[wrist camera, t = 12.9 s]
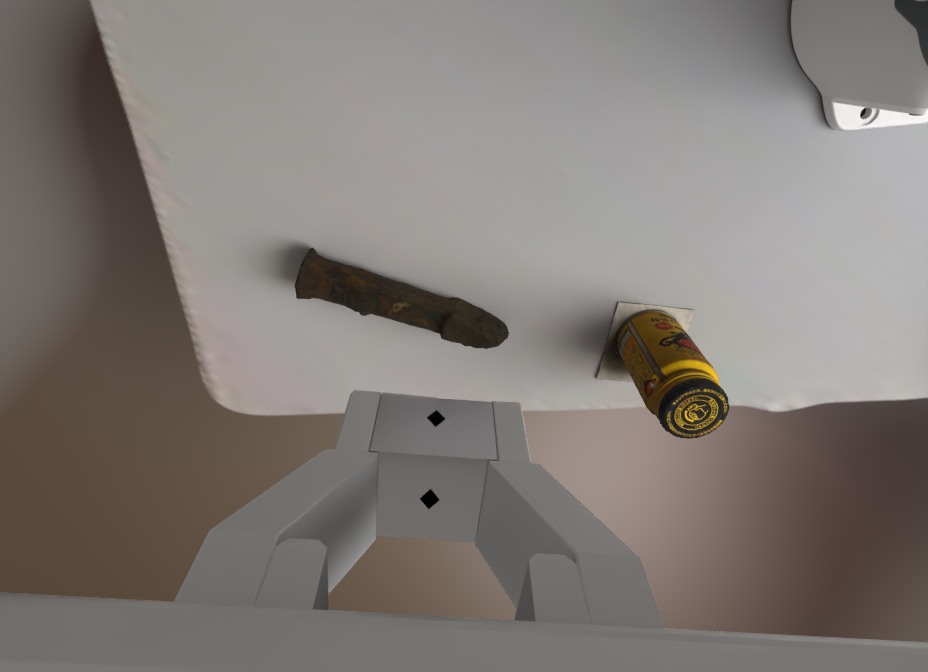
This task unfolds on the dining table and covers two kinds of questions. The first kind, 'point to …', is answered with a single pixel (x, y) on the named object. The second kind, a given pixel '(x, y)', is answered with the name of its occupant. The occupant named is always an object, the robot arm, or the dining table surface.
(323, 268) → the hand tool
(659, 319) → the condiment
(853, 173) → the dining table surface
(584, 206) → the dining table surface
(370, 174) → the dining table surface
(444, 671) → the robot arm
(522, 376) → the dining table surface
